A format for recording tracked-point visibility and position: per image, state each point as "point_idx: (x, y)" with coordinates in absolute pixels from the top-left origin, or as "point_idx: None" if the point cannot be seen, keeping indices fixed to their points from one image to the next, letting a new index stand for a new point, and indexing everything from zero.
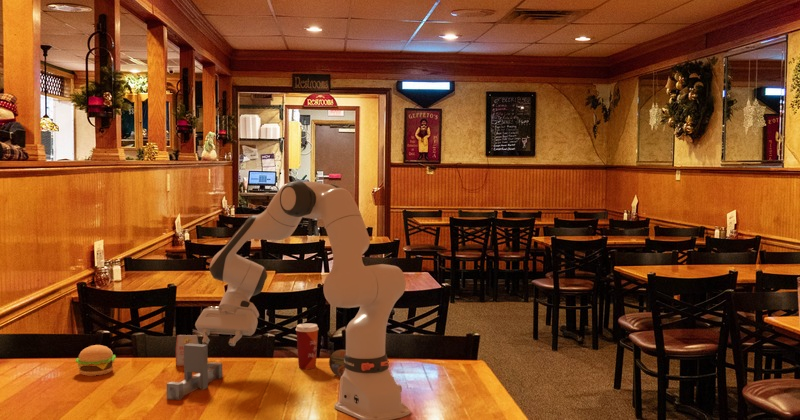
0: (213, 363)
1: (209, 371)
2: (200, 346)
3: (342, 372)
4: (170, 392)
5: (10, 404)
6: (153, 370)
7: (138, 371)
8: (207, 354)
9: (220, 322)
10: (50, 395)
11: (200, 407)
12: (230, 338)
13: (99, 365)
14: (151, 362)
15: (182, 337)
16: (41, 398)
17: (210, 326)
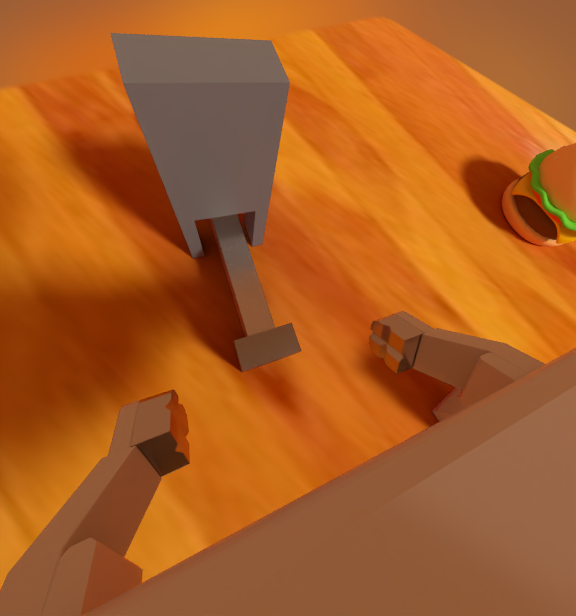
0: (272, 340)
1: (232, 287)
2: (135, 35)
3: None
4: None
5: (424, 43)
6: (468, 295)
7: (482, 267)
8: (152, 156)
9: (541, 575)
10: (429, 86)
11: (63, 118)
12: (163, 431)
13: (526, 179)
14: (546, 348)
15: None
16: (422, 72)
17: (528, 396)
